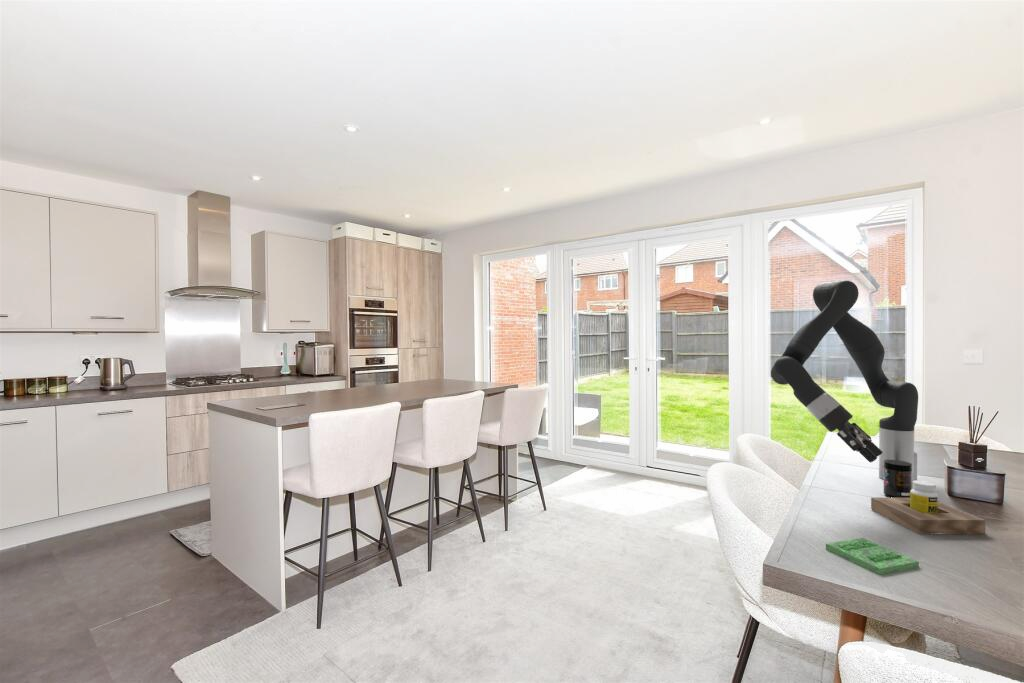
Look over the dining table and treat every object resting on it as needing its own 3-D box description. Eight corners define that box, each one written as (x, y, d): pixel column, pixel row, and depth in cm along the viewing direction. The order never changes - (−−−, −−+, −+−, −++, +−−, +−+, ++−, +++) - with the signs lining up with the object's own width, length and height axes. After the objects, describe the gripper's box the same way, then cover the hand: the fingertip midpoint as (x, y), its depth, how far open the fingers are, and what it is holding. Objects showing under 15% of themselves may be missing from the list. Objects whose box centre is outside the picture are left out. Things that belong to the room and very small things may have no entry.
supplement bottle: (931, 525, 121) (931, 487, 120) (905, 518, 125) (906, 481, 125) (941, 521, 123) (942, 484, 123) (916, 514, 128) (916, 478, 128)
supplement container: (897, 492, 147) (897, 459, 146) (918, 500, 140) (918, 465, 140) (877, 493, 146) (877, 459, 146) (897, 501, 139) (897, 465, 139)
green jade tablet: (879, 577, 97) (879, 566, 97) (825, 551, 108) (825, 541, 108) (918, 570, 100) (919, 558, 100) (862, 546, 111) (862, 535, 111)
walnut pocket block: (928, 510, 132) (929, 497, 132) (985, 534, 116) (985, 520, 116) (871, 509, 132) (871, 497, 132) (919, 534, 116) (919, 519, 116)
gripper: (833, 406, 132) (885, 454, 124) (845, 401, 142) (893, 445, 134) (811, 423, 136) (860, 470, 128) (824, 416, 146) (870, 460, 138)
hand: (877, 457), depth 131 cm, fingers open, 8 cm apart
